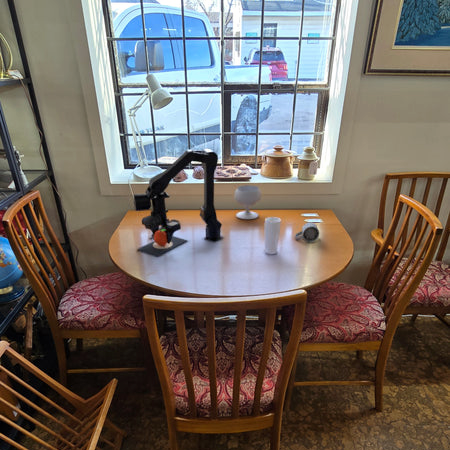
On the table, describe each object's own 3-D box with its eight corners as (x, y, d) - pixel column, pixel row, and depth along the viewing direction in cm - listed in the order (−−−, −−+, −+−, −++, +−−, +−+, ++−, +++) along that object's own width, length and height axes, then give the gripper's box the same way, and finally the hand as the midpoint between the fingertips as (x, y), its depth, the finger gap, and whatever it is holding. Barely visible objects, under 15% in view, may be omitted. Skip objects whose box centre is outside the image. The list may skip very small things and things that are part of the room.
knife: (154, 240, 174) (154, 238, 173) (143, 238, 176) (142, 235, 175) (182, 223, 193) (181, 220, 192) (171, 221, 195) (171, 218, 195)
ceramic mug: (316, 235, 178) (318, 220, 173) (318, 242, 171) (320, 226, 167) (294, 235, 178) (295, 220, 174) (295, 242, 172) (296, 226, 167)
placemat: (187, 241, 173) (187, 240, 172) (157, 257, 159) (157, 255, 159) (168, 235, 179) (167, 234, 178) (137, 250, 165) (137, 248, 165)
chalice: (236, 211, 208) (236, 184, 200) (260, 212, 206) (262, 185, 198) (233, 220, 196) (233, 191, 188) (259, 221, 195) (260, 192, 187)
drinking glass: (268, 256, 159) (270, 223, 151) (260, 250, 164) (261, 218, 156) (281, 253, 161) (284, 220, 153) (272, 247, 166) (275, 215, 158)
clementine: (164, 239, 173) (162, 225, 169) (174, 243, 169) (173, 228, 165) (151, 245, 168) (149, 230, 164) (161, 249, 164) (160, 234, 160)
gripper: (130, 209, 158) (135, 242, 167) (162, 217, 149) (165, 252, 158) (148, 202, 166) (152, 234, 174) (180, 210, 157) (182, 244, 165)
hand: (162, 241), depth 168 cm, fingers closed on clementine, 7 cm apart
